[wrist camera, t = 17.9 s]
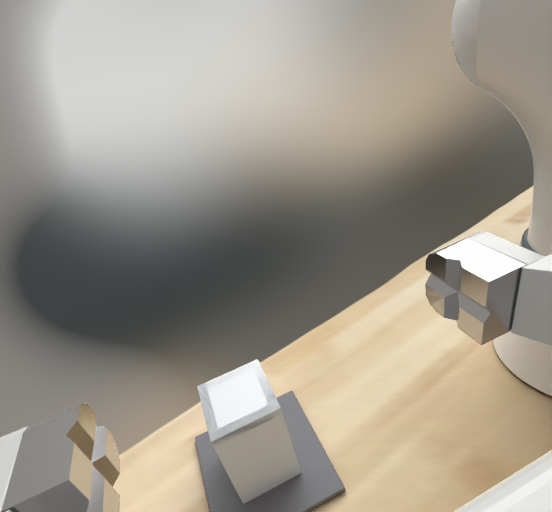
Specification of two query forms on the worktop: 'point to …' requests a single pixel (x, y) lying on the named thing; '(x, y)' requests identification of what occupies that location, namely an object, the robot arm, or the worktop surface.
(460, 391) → the worktop surface
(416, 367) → the worktop surface
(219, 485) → the rubber mat
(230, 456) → the sleeve lid
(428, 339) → the worktop surface
